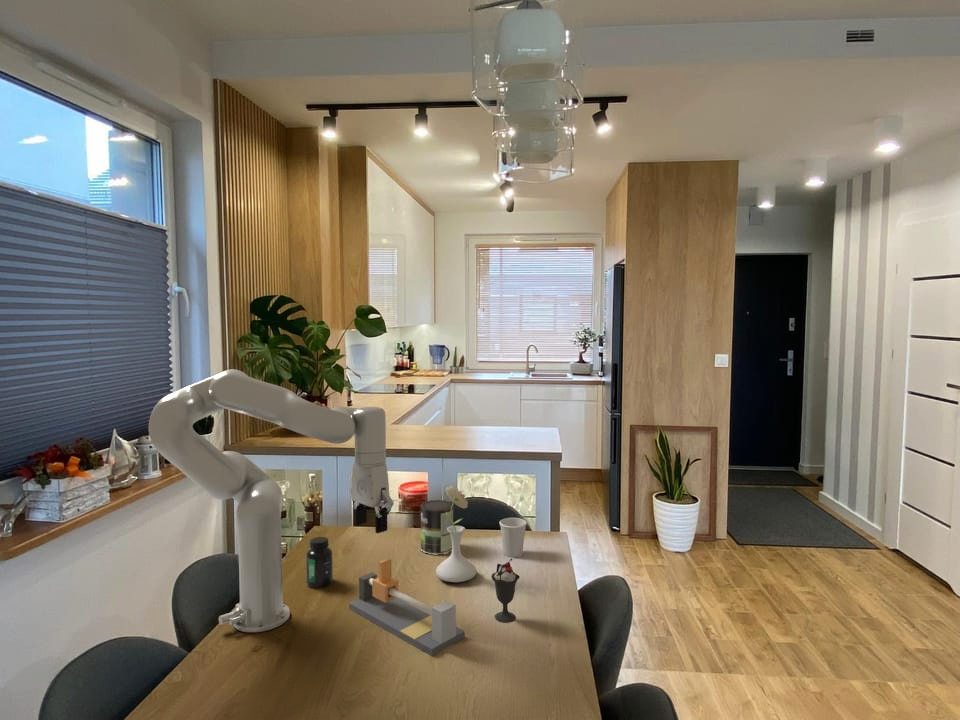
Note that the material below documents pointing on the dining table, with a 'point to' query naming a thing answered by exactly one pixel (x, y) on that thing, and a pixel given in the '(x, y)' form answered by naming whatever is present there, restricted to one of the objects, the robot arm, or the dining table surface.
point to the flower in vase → (456, 546)
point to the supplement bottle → (319, 563)
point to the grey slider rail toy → (409, 617)
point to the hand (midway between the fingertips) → (371, 527)
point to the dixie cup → (513, 536)
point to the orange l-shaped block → (384, 582)
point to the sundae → (505, 589)
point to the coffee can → (436, 527)
